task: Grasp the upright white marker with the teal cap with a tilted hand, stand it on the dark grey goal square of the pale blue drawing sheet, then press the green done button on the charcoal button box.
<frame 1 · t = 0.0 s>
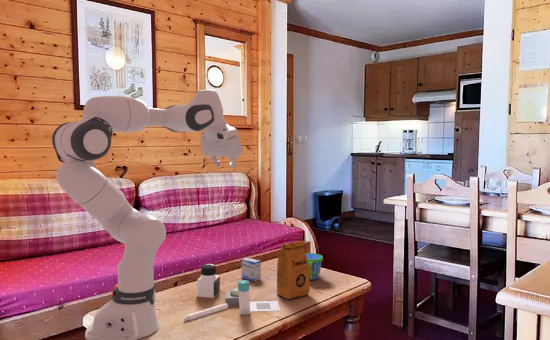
hand: (225, 166, 161), 52 cm above the table, tool tilted 20°, fingers open, 8 cm apart
marker: (206, 315, 150), on the table
button housing: (236, 301, 162), on the table
coffee package: (293, 295, 170), on the table
done button: (236, 293, 162), point 3 cm above the table, slide at 0.0 cm
medicine box: (251, 279, 189), on the table
snack cup: (310, 278, 191), on the table
fat marker: (245, 312, 152), on the table
medicine bottle: (208, 295, 169), on the table
drawing sheet: (263, 306, 158), on the table
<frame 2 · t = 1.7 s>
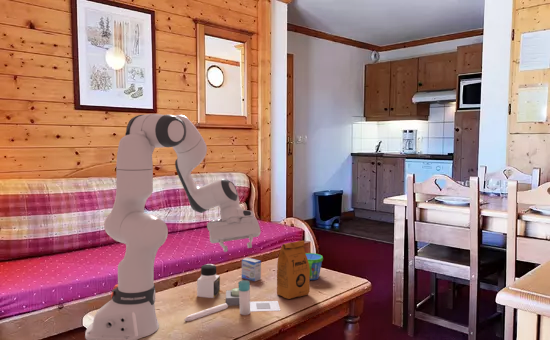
hand: (238, 249, 163), 20 cm above the table, tool tilted 40°, fingers open, 8 cm apart
fat marker: (245, 312, 152), on the table, touching drawing sheet
everything else where it was.
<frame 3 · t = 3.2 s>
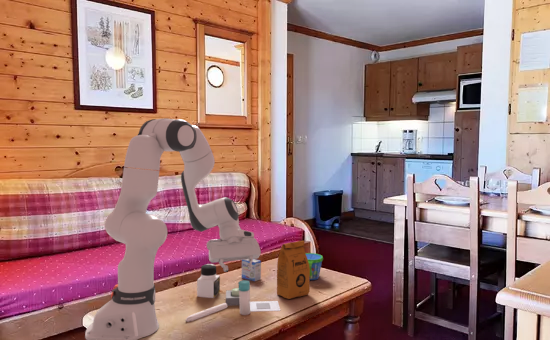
hand: (238, 269, 159), 13 cm above the table, tool tilted 45°, fingers open, 8 cm apart
nothing on the table moved.
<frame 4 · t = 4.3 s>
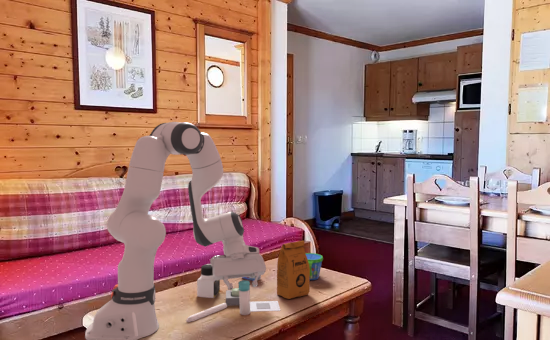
hand: (243, 287, 154), 9 cm above the table, tool tilted 45°, fingers open, 8 cm apart
nothing on the table moved.
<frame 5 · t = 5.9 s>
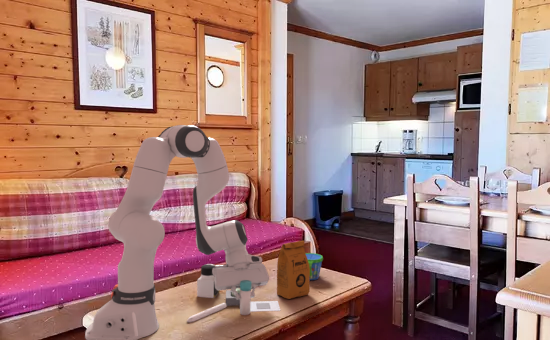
hand: (245, 298, 151), 6 cm above the table, tool tilted 45°, fingers closed on fat marker, 4 cm apart
fat marker: (245, 312, 152), on the table, touching drawing sheet, gripper
everything else where it was.
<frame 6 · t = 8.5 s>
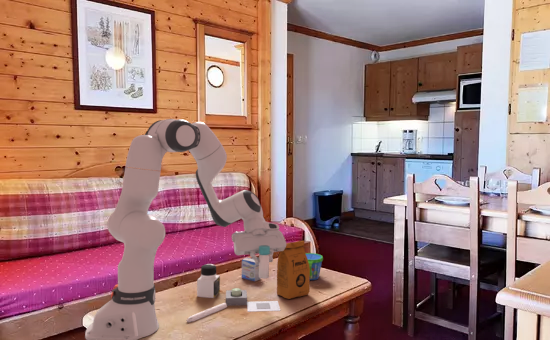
hand: (264, 262, 156), 17 cm above the table, tool tilted 45°, fingers closed on fat marker, 4 cm apart
fat marker: (263, 276, 157), point 12 cm above the table, touching gripper
everything else where it was.
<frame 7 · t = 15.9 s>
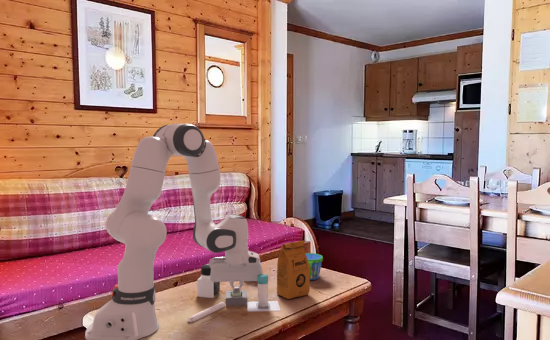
hand: (236, 291, 162), 4 cm above the table, tool pointing down, fingers closed, pressing on done button
done button: (236, 295, 162), point 2 cm above the table, slide at 0.9 cm, touching gripper
fat marker: (263, 305, 158), resting on drawing sheet
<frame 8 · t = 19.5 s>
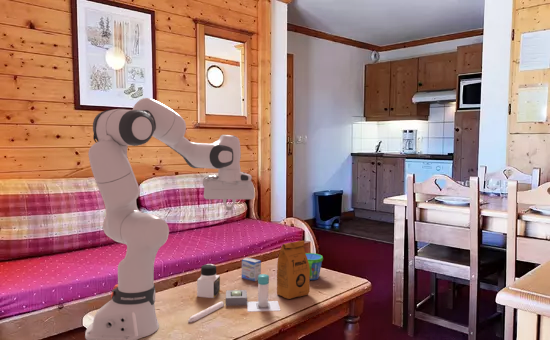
hand: (229, 210, 168), 34 cm above the table, tool pointing down, fingers closed
done button: (236, 296, 162), point 2 cm above the table, slide at 1.0 cm
at the end: fat marker inside the target area on the drawing sheet (0.1 cm from its centre), point 0.4 cm above the drawing sheet's base; fat marker tilted 2°; done button slide at 1.0 cm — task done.
